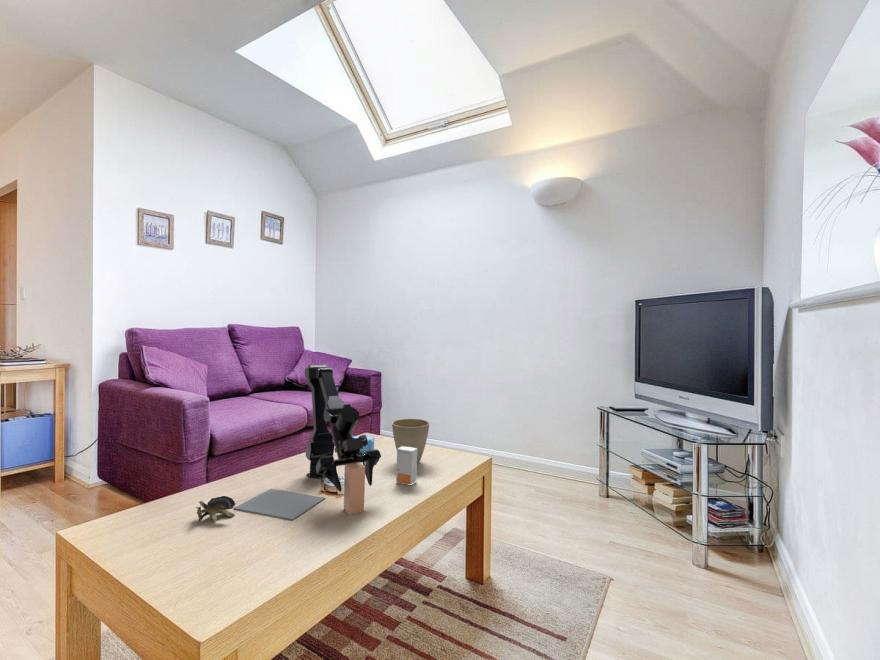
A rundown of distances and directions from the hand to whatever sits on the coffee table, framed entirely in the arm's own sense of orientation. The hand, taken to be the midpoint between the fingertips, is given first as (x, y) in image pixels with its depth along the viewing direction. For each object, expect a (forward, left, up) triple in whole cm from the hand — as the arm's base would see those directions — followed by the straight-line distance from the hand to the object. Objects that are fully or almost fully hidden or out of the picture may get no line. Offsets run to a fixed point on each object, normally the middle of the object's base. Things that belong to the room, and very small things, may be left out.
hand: (356, 487), depth 125 cm
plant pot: (-48, -2, -7) cm, 48 cm away
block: (-1, -1, -7) cm, 7 cm away
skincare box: (-27, +5, -7) cm, 28 cm away
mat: (+3, -23, -7) cm, 24 cm away
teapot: (-53, -26, -7) cm, 59 cm away
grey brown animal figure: (+18, -33, -7) cm, 38 cm away
